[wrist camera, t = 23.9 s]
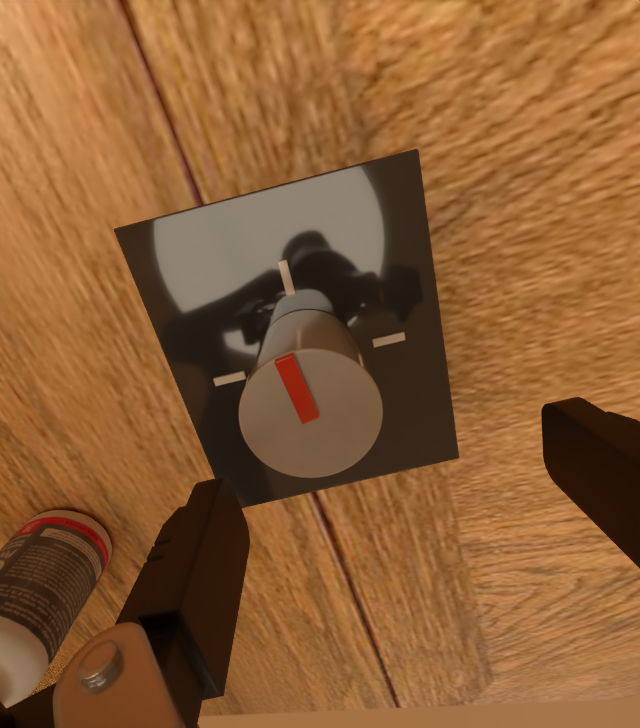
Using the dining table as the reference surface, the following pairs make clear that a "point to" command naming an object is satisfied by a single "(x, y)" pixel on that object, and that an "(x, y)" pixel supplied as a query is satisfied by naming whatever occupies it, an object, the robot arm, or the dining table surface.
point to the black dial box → (302, 292)
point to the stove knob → (310, 397)
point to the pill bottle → (44, 593)
